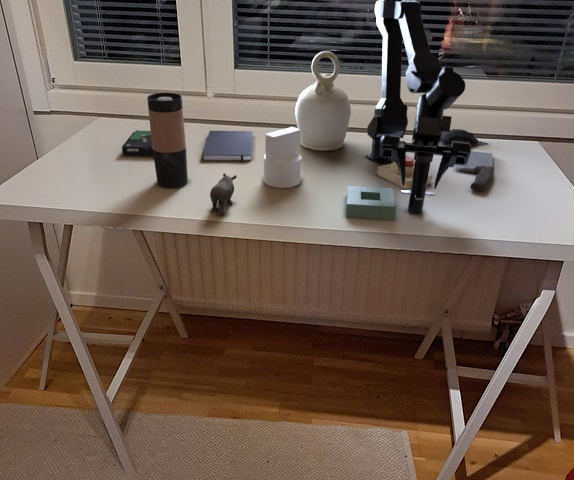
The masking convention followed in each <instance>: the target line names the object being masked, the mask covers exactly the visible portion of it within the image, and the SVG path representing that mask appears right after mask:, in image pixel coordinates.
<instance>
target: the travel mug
mask: <svg viewBox="0 0 574 480" xmlns="http://www.w3.org/2000/svg"><path fill="white" fill-rule="evenodd" d="M146 100H147V108H148V110H147V111H148V119H149V128H150V131H151V139H152V148H153V155H154V156H153V161H154V168H155V175H156V181H157V185H158V186H159V187H162V188H166V189H178V188H181V187H184V186H186V185H187V184H188V182H189V181H188V180H189V179H188V178H189V177H188V159H187V156H188V155H187V143H186V141H187V140H186V131H185V119H184V108H183V107H184V106H183V97H182V95H180V94H179V93H174V92H156V93H152V94H150V95H148V96H147V98H146Z"/></svg>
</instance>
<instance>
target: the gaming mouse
mask: <svg viewBox="0 0 574 480" xmlns="http://www.w3.org/2000/svg"><path fill="white" fill-rule="evenodd" d="M453 141H461V142H469V143H470V144H471V147H475V146H477V145H478V144H481V145H482V144H483V145H488V142H484V141H479V140H478V138H476V136H474V134H473V132H469V131H467V130H465V129H462V128H452V129H450V131H449V133H441V140H440V142H439V143H440V144H443V145H445V146H449V147H451V145H452V142H453Z"/></svg>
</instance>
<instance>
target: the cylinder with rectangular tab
mask: <svg viewBox="0 0 574 480" xmlns="http://www.w3.org/2000/svg"><path fill="white" fill-rule="evenodd" d="M300 149H301V143H300V129H298V127H295V126H290V127H286V128H282V129H280V130H275V131H271V132H268V133H265V150H264V151H265V153H264V155H263V182H264V184H265V185H267V186H269V187H274V188H281V189H286V188H293V187H297V186H298V185H300V183H301V181H302V159H303V157H302V155H301V154H300V151H301V150H300Z"/></svg>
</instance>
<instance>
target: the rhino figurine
mask: <svg viewBox="0 0 574 480" xmlns="http://www.w3.org/2000/svg"><path fill="white" fill-rule="evenodd" d="M236 179H237V174H235V175H233V176H229V175H227V174H226V173H225V172H223V174H222V178H220V179H219V180H218V182H217V183H216V184H215V185H214V186H212V188H211V189H210V193H209V198H210V201H211V203H212V207H211V209H210V211H211V212H212V213H217V212H218V216H225V215H226V212H225V211H224V207H225V205H233V204H234V203H233V201H232V200H231V199H232V197H233V194H234V192H235V185H234V183H233V182H234V180H236ZM217 206H218V207H217Z"/></svg>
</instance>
